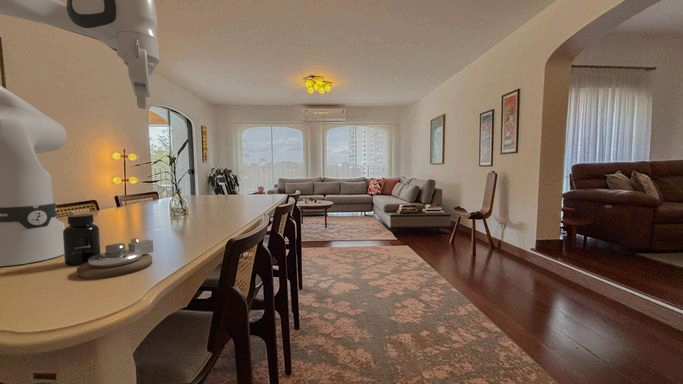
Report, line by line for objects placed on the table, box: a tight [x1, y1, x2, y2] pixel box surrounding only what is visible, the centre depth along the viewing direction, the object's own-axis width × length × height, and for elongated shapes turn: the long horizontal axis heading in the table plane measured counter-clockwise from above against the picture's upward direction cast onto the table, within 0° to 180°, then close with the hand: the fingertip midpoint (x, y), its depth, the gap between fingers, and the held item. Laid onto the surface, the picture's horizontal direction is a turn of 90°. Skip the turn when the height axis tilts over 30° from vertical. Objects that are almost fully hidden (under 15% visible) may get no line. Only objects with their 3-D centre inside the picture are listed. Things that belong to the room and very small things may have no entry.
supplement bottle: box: [63, 213, 101, 267], centre depth 73 cm, size 7×7×12 cm
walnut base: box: [76, 237, 153, 280], centre depth 69 cm, size 14×14×6 cm
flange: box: [88, 239, 154, 267], centre depth 70 cm, size 13×10×4 cm
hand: (141, 107), depth 75 cm, fingers closed
